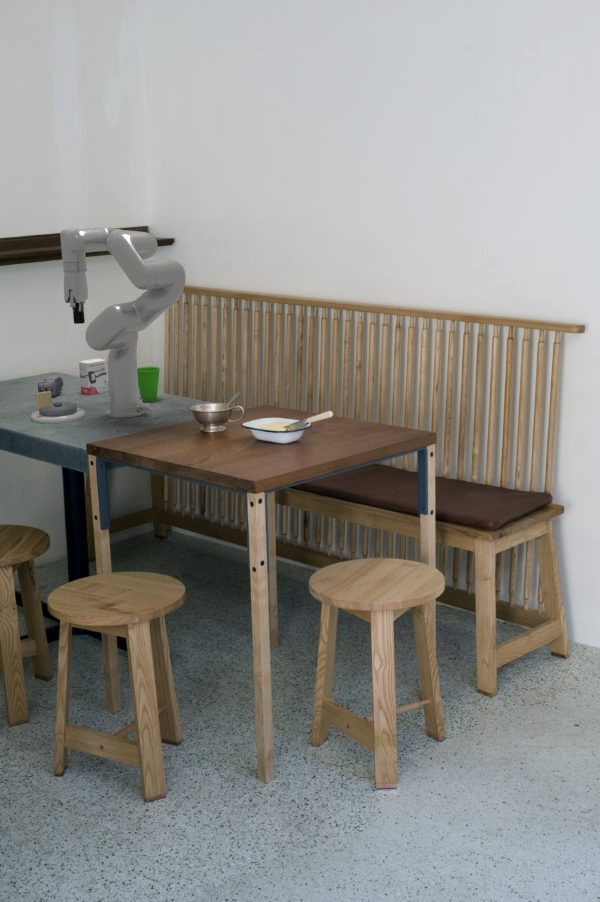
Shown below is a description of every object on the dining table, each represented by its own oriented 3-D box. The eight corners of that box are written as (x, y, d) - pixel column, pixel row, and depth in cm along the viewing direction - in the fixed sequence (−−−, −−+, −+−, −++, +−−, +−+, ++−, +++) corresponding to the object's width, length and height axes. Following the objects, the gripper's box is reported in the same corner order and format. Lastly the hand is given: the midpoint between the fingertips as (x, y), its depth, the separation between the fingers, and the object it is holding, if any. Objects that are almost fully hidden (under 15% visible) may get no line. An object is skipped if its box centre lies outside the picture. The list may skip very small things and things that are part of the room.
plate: (94, 412, 363) (93, 407, 362) (70, 424, 347) (69, 418, 347) (47, 410, 367) (47, 405, 367) (22, 422, 352) (21, 416, 351)
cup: (167, 398, 381) (165, 367, 379) (150, 403, 374) (148, 372, 371) (147, 396, 386) (145, 365, 383) (130, 401, 379) (128, 369, 376)
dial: (69, 406, 365) (68, 385, 363) (82, 412, 355) (80, 391, 353) (32, 411, 359) (31, 390, 357) (44, 418, 349) (42, 396, 347)
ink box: (88, 395, 391) (86, 362, 388) (80, 393, 394) (78, 361, 391) (108, 391, 396) (106, 359, 393) (100, 390, 400) (98, 358, 397)
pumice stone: (33, 403, 391) (52, 398, 385) (26, 382, 390) (45, 377, 384) (53, 397, 399) (72, 392, 393) (47, 377, 398) (66, 371, 392)
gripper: (72, 265, 368) (77, 320, 372) (55, 269, 354) (60, 326, 358) (93, 265, 366) (98, 320, 371) (77, 269, 352) (81, 326, 357)
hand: (79, 323), depth 365 cm, fingers closed
